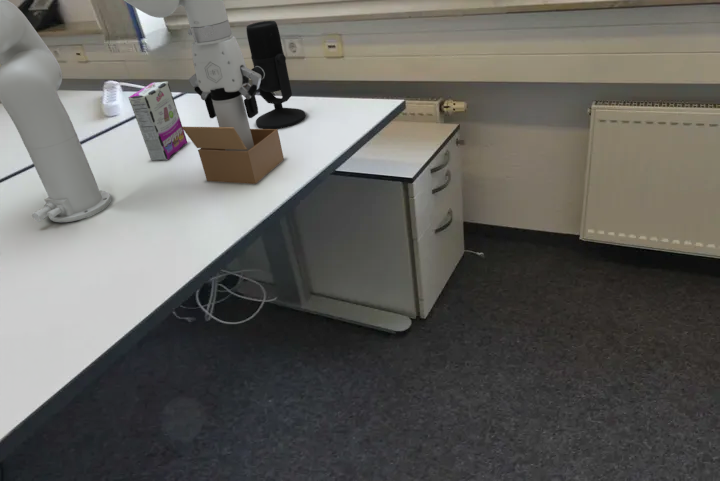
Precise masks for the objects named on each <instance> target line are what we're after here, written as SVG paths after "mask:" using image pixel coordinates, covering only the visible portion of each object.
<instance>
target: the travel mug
mask: <svg viewBox="0 0 720 481" xmlns="http://www.w3.org/2000/svg"><path fill="white" fill-rule="evenodd" d="M210 91H211V92H210V94H211V98H212V102H213V106H214V110H215V113H216V117H215V118H216V121H217V124H218V127H234V129H235V130H236V132H237V134H238V135H239V137H240V138H241V140H242V141H243V143H244V145H245V146H246V148H247V150H242V149H225V150H226V151H249V150H250V149H251V148H253V147H254V143H253V139H252V134H251V130H250V129H251V128H250V127H251V126H250V123H249V117H248V116H247V112H246V108H245V104H244V98H243V97H244V96H243V95H242V94H241V93H240V92H239V91H236V92H226V91H225V89H224V88H220V89H215V90H210Z"/></svg>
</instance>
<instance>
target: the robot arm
mask: <svg viewBox="0 0 720 481" xmlns="http://www.w3.org/2000/svg"><path fill="white" fill-rule="evenodd" d="M122 1H124V2H125V3H127V4H128V5H130V6H132V7H134V9H137V10H139V11H140V12H142V13H144V14H146V15H148V16H150V17H153V18H159V19H162V18H168V17H170V16H171V15H172V14H174V13H175V12H176V10H177V9H178V8H180V7H183V8H184V11H185V14H186V18H187V21H188V25H189V28H187V34H188V36H192V39H193V42H191V56H192V63H193V68H194V74H192V75H191V76H190V77H189V78H188V82H189V84H190V85H191V87H192V88H193V89H194V92H195V93H196V94H198V96H200V99H201V100H202V101H204V103H205V107H206V111H207V113H208V116H209V118H210V119H214V118H217V117H216V113H215V110H214V106H213V102H212V98H211V94H210V92H211V91H210V90H215V89H220V88H224V89H225V91H226V92H236V91H239V92H240V93H241V94H242V97H244V99H243V101H244V106H245V110H246V114H247V118H248V119H253V118H254V117H255V116H256V115H258V114H259V106H258V103H257V99H256V96H257V94H258V92H259V88H260V82H261V75H260V74H258V73H256V72H254V71H252V69H250V68H248V67H247V64H246V60H245V58H244V55H243V52H242V49H241V46H240V45H239V43H238V41H237V37H236V36H233V32H232V29H231V25H230V20H229V17H228V13H227V9H226V5H225V0H122ZM0 65H1V66H0V103H1V105H2V106H3V108H4V110H5V111H6V113H7V114H8V116H9V118H10V120H11V121H12V122H13V124H14V126H15V128H16V131H17V132H18V134H19V136H20V139H21V141H22V143H23V145H24V147H25V149H26V150H27V153H28V155H29V157H30V160H31V162H32V164H33V166H34V169H35V170H36V172H37V175H38V177H39V179H40V181H41V184H42V186H43V188H44V190H45V192H46V195H47V197H46V198H44V202H45V204H44V205H43V207H42V208H40V209H37V210H36V211H35V212H32V213H31V216H32V218H33V220H35V222H41V221H42V220H44V219H46V218H47V217H48V219H49V220H50V221H52V222H54V223H71V222H77V221H80V220H84V219H86V218H90V217H91V216H93V215H96V214H98V213H100V212H101V211H103V210H104V209H106V208H107V207H108V206H109V205H110V204H111V202H112V197H111V194H110V193H109V191H106V190H100V188H99V184H98V183H97V180H96V178H95V176H94V173H93V170H92V168H91V166H90V163H89V161H88V158H87V156H86V153H85V151H84V148H83V146H82V144H81V141H80V139H79V136H78V134H77V132H76V129H75V126H74V124H73V122H72V120H71V118H70V115H69V113H68V111H67V109H66V108H65V106H64V104H63V102H62V100H61V97H60V96H59V94H58V90H59V89H60V87H61V85H62V82H63V72H62V68H61V65H60V64H59V62H58V60H57V58H56V56H55V55H54V54H53V52H52V51H51V50H50V48H49V47H48V46H47V44H46V42H45V40H44V39H42V37H41V36H40V34H39V33H38V32H37V30H36V29H35V27H34V26H33V25H32V24H31V22H30V20H28V17H27V16H26V15H25V14H24V13H23V11H22V10H20V8H18V6H17V5H16V4H14V3H13V2H12V1H9V0H0ZM250 81H251V84H250Z"/></svg>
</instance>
